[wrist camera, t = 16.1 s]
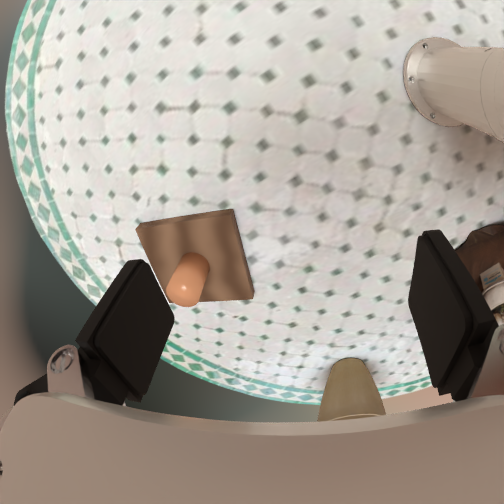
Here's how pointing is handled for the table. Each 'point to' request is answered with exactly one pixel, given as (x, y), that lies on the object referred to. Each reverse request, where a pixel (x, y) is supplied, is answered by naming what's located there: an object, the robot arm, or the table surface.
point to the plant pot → (350, 393)
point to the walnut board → (200, 252)
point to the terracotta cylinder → (188, 280)
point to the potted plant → (487, 265)
